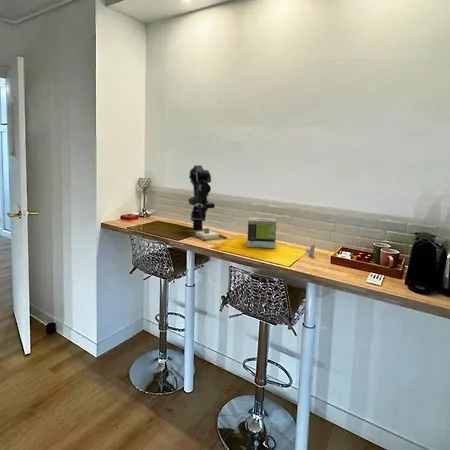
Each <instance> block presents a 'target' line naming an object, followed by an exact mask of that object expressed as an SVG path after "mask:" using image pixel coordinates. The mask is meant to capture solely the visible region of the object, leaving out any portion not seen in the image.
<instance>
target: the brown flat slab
mask: <svg viewBox="0 0 450 450" xmlns="http://www.w3.org/2000/svg"><path fill="white" fill-rule="evenodd" d="M218 234H219V237H218V238H209V239H204V238H201V237H199V236H197V235H195V233H194V232H193V233H190V234H189V235H190V237H193V238H195V239H198V240H201V241H203V242H210V241H211V242H212V241H219V240H227V239H228V237H227V236H225V235H223V234H220V233H218Z"/></svg>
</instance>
